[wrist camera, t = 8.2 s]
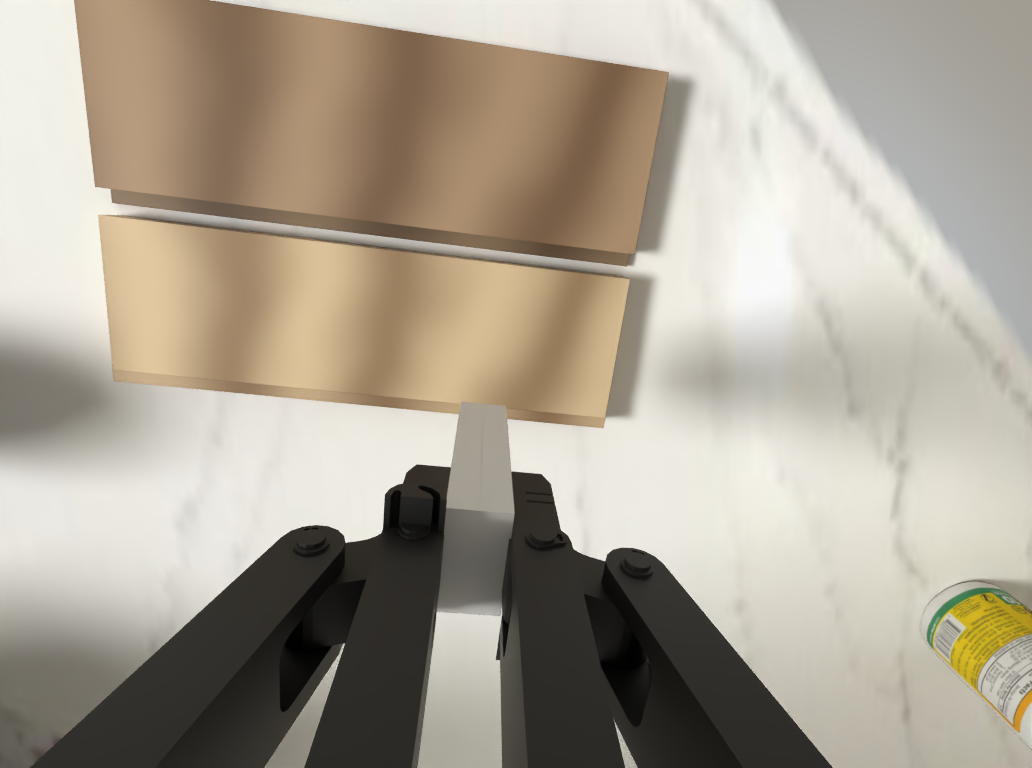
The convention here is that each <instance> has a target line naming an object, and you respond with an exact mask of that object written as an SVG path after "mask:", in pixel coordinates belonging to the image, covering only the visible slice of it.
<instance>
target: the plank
mask: <svg viewBox="0 0 1032 768" xmlns="http://www.w3.org/2000/svg"><path fill="white" fill-rule="evenodd" d="M98 217H99V228H100V239H101V249H102V260H103V270H104V281H105V291H106V302H107V313H108V323H109V334H110V344H111V355H112V366H113V379H114V381H120V382H131V383H141V384H151V385H162V386H172V387H183V388H193V389H203V390H214V391H224V392H234V393H245V394H255V395H265V396H276V397H286V398H297V399H307V400H317V401H328V402H338V403H348V404H359V405H369V406H380V407H390V408H400V409H411V410H421V411H431V412H442V413H452V414H459V412H460V405H461V402H470V403H480V404H491V405H501V406H506V413H507V419H514V420H525V421H535V422H545V423H556V424H566V425H577V426H587V427H597V428H603V427H604V422H605V416H606V410H607V404H608V399H609V393H610V388H611V382H612V377H613V371H614V365H615V360H616V354H617V349H618V343H619V338H620V332H621V327H622V321H623V315H624V310H625V304H626V299H627V293H628V288H629V282H630V279H628V278H625V277H621V276H613V275H605V274H597V273H588V272H580V271H572V270H564V269H556V268H547V267H539V266H531V265H523V264H514V263H506V262H498V261H490V260H482V259H473V258H465V257H457V256H449V255H440V254H432V253H424V252H416V251H408V250H399V249H391V248H383V247H375V246H366V245H358V244H350V243H342V242H334V241H325V240H317V239H309V238H301V237H292V236H284V235H276V234H268V233H260V232H251V231H243V230H235V229H227V228H218V227H210V226H202V225H194V224H186V223H177V222H169V221H161V220H153V219H144V218H136V217H128V216H120V215H98Z"/></svg>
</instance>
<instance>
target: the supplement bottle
mask: <svg viewBox="0 0 1032 768" xmlns="http://www.w3.org/2000/svg"><path fill="white" fill-rule="evenodd" d="M920 630H921V635H922V638H923V640H924V642H925V643H926V644H927V646H928V647H929V648H930V649H931V650H932V651H933V652H934V653H935V654H936V655H937V656H938V657H939V658H940V659H941V660H942V661H943V662H944V663H945V664H946V665H947V666H948V667H949V668H950V669H951V670H952V671H953V672H954V673H955V674H956V675H957V676H958V677H959V678H960V679H961V680H962V681H963V682H964V683H965V684H966V685H967V686H968V687H969V688H970V689H971V690H972V691H973V692H974V693H975V694H976V695H977V696H978V697H979V698H980V699H981V700H982V701H983V702H984V703H985V704H986V705H987V706H988V707H989V708H990V709H991V710H992V711H993V712H994V713H995V714H996V715H997V716H998V717H999V718H1000V719H1001V720H1002V721H1003V722H1004V723H1005V724H1006V725H1007V726H1008V727H1009V728H1010V729H1011V730H1012V731H1013V732H1014V733H1015V734H1016V735H1017V736H1018V737H1019V738H1020V739H1021V740H1022V741H1023V742H1024V743H1025V744H1026V745H1027V746H1028V747H1029V748H1030V749H1032V611H1031V610H1030V609H1028V608H1027V607H1026V606H1024V605H1023V604H1022V603H1020V602H1019V601H1018V600H1016V599H1015V598H1014V597H1012V596H1011V595H1010V594H1008V593H1007V592H1005V591H1004V590H1002V589H1001V588H999V587H997V586H995V585H991V584H987V583H982V582H965V583H961V584H957V585H955V586H952V587H950V588H948V589H946V590H944V591H943V592H941V593H940V594H938V595H937V596H936V597H935V598H934V599H933V600H932V601H931V602H930V603H929V604H928V606H927V607H926V609H925V610H924V613H923V615H922V618H921V623H920Z"/></svg>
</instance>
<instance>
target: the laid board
mask: <svg viewBox="0 0 1032 768" xmlns="http://www.w3.org/2000/svg"><path fill="white" fill-rule="evenodd" d="M74 4H75V13H76V21H77V30H78V39H79V48H80V57H81V66H82V75H83V83H84V92H85V101H86V110H87V119H88V128H89V137H90V145H91V154H92V163H93V172H94V181H95V187H101V188H109V189H111V197H112V203H117V204H125V205H133V206H142V207H150V208H158V209H166V210H174V211H182V212H190V213H198V214H206V215H215V216H223V217H231V218H239V219H247V220H255V221H263V222H271V223H279V224H287V225H296V226H304V227H312V228H320V229H328V230H336V231H344V232H352V233H360V234H369V235H377V236H385V237H393V238H401V239H409V240H417V241H425V242H433V243H441V244H450V245H458V246H466V247H474V248H482V249H490V250H498V251H506V252H514V253H523V254H531V255H539V256H547V257H555V258H563V259H571V260H579V261H587V262H595V263H604V264H612V265H620V266H627V263H628V258H629V254H635V250H636V244H637V239H638V234H639V228H640V223H641V218H642V212H643V207H644V202H645V196H646V191H647V186H648V180H649V175H650V170H651V164H652V159H653V154H654V148H655V143H656V138H657V132H658V127H659V122H660V116H661V111H662V106H663V100H664V95H665V90H666V84H667V79H668V74H669V72H664V71H658V70H651V69H645V68H638V67H632V66H626V65H619V64H613V63H606V62H600V61H594V60H587V59H581V58H574V57H568V56H562V55H555V54H549V53H542V52H536V51H530V50H523V49H517V48H510V47H504V46H498V45H491V44H485V43H478V42H472V41H466V40H459V39H453V38H446V37H440V36H434V35H427V34H421V33H414V32H408V31H402V30H395V29H389V28H383V27H376V26H370V25H363V24H357V23H351V22H344V21H338V20H331V19H325V18H319V17H312V16H306V15H299V14H293V13H287V12H280V11H274V10H267V9H261V8H255V7H248V6H242V5H235V4H229V3H223V2H216V1H210V0H74Z"/></svg>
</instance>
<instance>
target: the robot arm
mask: <svg viewBox="0 0 1032 768" xmlns="http://www.w3.org/2000/svg"><path fill="white" fill-rule="evenodd" d="M554 503H555V502H554V497H553V493H552V488H551V484H550V483H549V482H548V481H547V480H546V479H545V478H544V476H543V475H542V474H533V473H522V472H511V463H510V450H509V438H508V425H507V413H506V406H501V405H491V404H480V403H470V402H461V405H460V412H459V418H458V425H457V432H456V438H455V445H454V452H453V458H452V465H451V468H450V467H439V466H428V465H416V466H414V467H413V468H412V469H411V470H409V471H408V472H407V473H406V476H405V479H404V482H403V484H399V485H396V486H395V487H393V488H391V489H389V490H388V492H387V493H386V494H385V504H384V523H383V530H382V533H381V534H379V535H378V536H376V537H373V538H370V539H367V540H362V541H357V542H349V543H345V539H344V536H343V535H342V534H341V533H340V532H339V531H338V530H336V529H333V528H331V527H328V526H318V525H314V526H306V527H301V528H298V529H295V530H292V531H290V532H289V533H287V534H286V535H284V536H283V537H281V538H280V539H279V540H278V541H277V542H276V543H275V544H274V545H273V546H271V547H270V548H269V549H268V550H267V551H266V552H265V553H264V554H263V555H262V556H261V557H259V558H258V559H257V560H256V561H255V562H254V563H253V564H252V565H251V566H250V567H249V568H247V569H246V570H245V571H244V572H243V573H242V574H241V575H240V576H239V577H238V578H237V579H235V580H234V581H233V582H232V583H231V584H230V585H229V586H228V587H227V588H226V589H225V590H223V591H222V592H221V593H220V594H219V595H218V596H217V597H216V598H215V599H214V600H213V601H211V602H210V603H209V604H208V605H207V606H206V607H205V608H204V609H203V610H202V611H201V612H199V613H198V614H197V615H196V616H195V617H194V618H193V619H192V620H191V621H190V622H189V623H187V624H186V625H185V626H184V627H183V628H182V629H181V630H180V631H179V632H178V633H177V634H175V635H174V636H173V637H172V638H171V639H170V640H169V641H168V642H167V643H166V644H165V645H163V646H162V647H161V648H160V649H159V650H158V651H157V652H156V653H155V654H154V655H153V656H151V657H150V658H149V659H148V660H147V661H146V662H145V663H144V664H143V665H142V666H141V667H139V668H138V669H137V670H136V671H135V672H134V673H133V674H132V675H131V676H130V677H129V678H127V679H126V680H125V681H124V682H123V683H122V684H121V685H120V686H119V687H118V688H117V689H115V690H114V691H113V692H112V693H111V694H110V695H109V696H108V697H107V698H106V699H105V700H103V701H102V702H101V703H100V704H99V705H98V706H97V707H96V708H95V709H94V710H93V711H91V712H90V713H89V714H88V715H87V716H86V717H85V718H84V719H83V720H82V721H81V722H79V723H78V724H77V725H76V726H75V727H74V728H73V729H72V730H71V731H70V732H69V733H67V734H66V735H65V736H64V737H63V738H62V739H61V740H60V741H59V742H58V743H57V744H55V745H54V746H53V747H52V748H51V749H50V750H49V751H48V752H47V753H46V754H45V755H43V756H42V757H41V758H40V759H39V760H38V761H37V762H36V763H35V764H34V765H33V766H31V767H30V768H264V767H265V765H266V764H267V762H268V761H269V759H270V758H271V756H272V755H273V753H274V752H275V750H276V749H277V747H278V746H279V744H280V742H281V741H282V739H283V738H284V736H285V735H286V733H287V732H288V730H289V729H290V727H291V726H292V724H293V723H294V721H295V720H296V718H297V717H298V715H299V714H300V712H301V711H302V709H303V708H304V706H305V705H306V703H307V702H308V700H309V699H310V697H311V696H312V694H313V692H314V691H315V689H316V688H317V686H318V685H319V683H320V682H321V680H322V679H323V677H324V676H325V674H326V673H327V671H328V670H329V668H330V667H331V665H332V664H333V662H334V661H335V659H336V658H337V656H338V655H339V653H340V650H341V647H342V645H343V644H344V643H345V646H344V649H343V652H342V655H341V658H340V661H339V664H338V667H337V670H336V673H335V676H334V680H333V683H332V686H331V689H330V692H329V695H328V698H327V701H326V704H325V707H324V710H323V713H322V716H321V719H320V722H319V725H318V728H317V731H316V734H315V737H314V740H313V743H312V746H311V749H310V753H309V756H308V759H307V762H306V765H305V768H417V766H418V758H419V750H420V742H421V734H422V726H423V718H424V711H425V703H426V695H427V687H428V679H429V671H430V663H431V656H432V648H433V640H434V632H435V622H436V612H449V613H464V614H479V615H494V616H500V615H501V608H502V620H501V627H500V634H499V641H498V649H497V656H496V660H500V673H501V725H502V768H625V765H624V761H623V757H622V753H621V749H620V744H619V740H618V736H617V732H616V728H615V723H614V720H615V722H616V724H617V726H618V728H619V730H620V732H621V734H622V736H623V739H624V741H625V743H626V745H627V747H628V749H629V751H630V753H631V755H632V757H633V759H634V761H635V763H636V765H637V767H638V768H832V766H831V765H830V764H829V763H828V762H827V760H826V759H825V758H824V757H823V756H822V754H821V753H820V752H819V751H818V750H817V748H816V747H815V746H814V745H813V743H812V742H811V741H810V740H809V739H808V737H807V736H806V735H805V734H804V733H803V731H802V730H801V729H800V728H799V727H798V725H797V724H796V723H795V722H794V721H793V719H792V718H791V717H790V716H789V715H788V713H787V712H786V711H785V710H784V709H783V707H782V706H781V705H780V704H779V703H778V701H777V700H776V699H775V698H774V697H773V695H772V694H771V693H770V692H769V691H768V689H767V688H766V687H765V686H764V685H763V683H762V682H761V681H760V680H759V679H758V677H757V676H756V675H755V674H754V673H753V671H752V670H751V669H750V668H749V667H748V665H747V664H746V663H745V662H744V660H743V659H742V658H741V657H740V656H739V654H738V653H737V652H736V651H735V650H734V648H733V647H732V646H731V645H730V644H729V642H728V641H727V640H726V639H725V638H724V636H723V635H722V634H721V633H720V632H719V630H718V629H717V628H716V627H715V626H714V624H713V623H712V622H711V621H710V620H709V618H708V617H707V616H706V615H705V614H704V612H703V611H702V610H701V609H700V608H699V606H698V605H697V604H696V603H695V602H694V600H693V599H692V598H691V597H690V596H689V594H688V593H687V592H686V591H685V590H684V588H683V587H682V586H681V585H680V584H679V582H678V581H677V580H676V579H675V578H674V576H673V575H672V574H671V573H670V571H669V570H668V569H667V568H666V567H665V565H664V564H663V563H662V562H660V561H659V560H658V559H657V558H656V557H654V556H652V555H651V554H649V553H647V552H645V551H642V550H638V549H634V548H619V549H615V550H612V551H611V552H610V553H609V554H607V558H606V562H605V561H602V560H598V559H595V558H591V557H588V556H586V555H583V554H581V553H579V552H577V551H575V550H574V549H573V547H572V543H571V541H570V539H569V537H568V536H567V535H566V534H565V533H564V532H562V531H561V529H560V525H559V520H558V516H557V511H556V507H555V504H554ZM613 718H614V719H613Z"/></svg>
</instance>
